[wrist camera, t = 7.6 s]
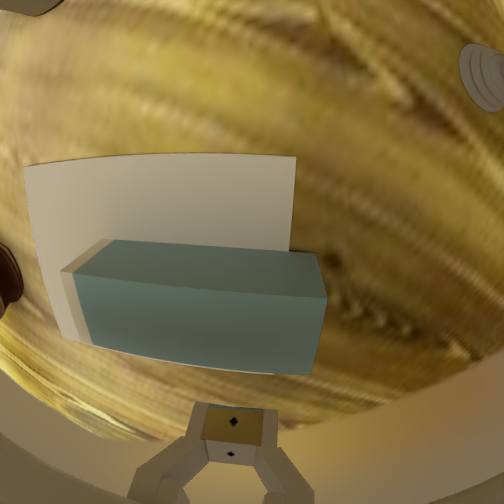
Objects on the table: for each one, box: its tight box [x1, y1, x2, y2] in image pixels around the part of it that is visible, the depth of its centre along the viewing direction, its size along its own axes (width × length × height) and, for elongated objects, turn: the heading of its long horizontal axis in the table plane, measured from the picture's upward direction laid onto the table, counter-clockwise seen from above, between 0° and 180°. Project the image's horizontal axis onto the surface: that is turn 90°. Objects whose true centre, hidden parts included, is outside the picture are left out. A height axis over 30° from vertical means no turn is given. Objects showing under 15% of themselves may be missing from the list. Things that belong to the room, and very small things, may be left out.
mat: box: [23, 153, 296, 375], centre depth 19 cm, size 20×16×1 cm
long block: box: [60, 239, 328, 375], centre depth 16 cm, size 5×5×14 cm
